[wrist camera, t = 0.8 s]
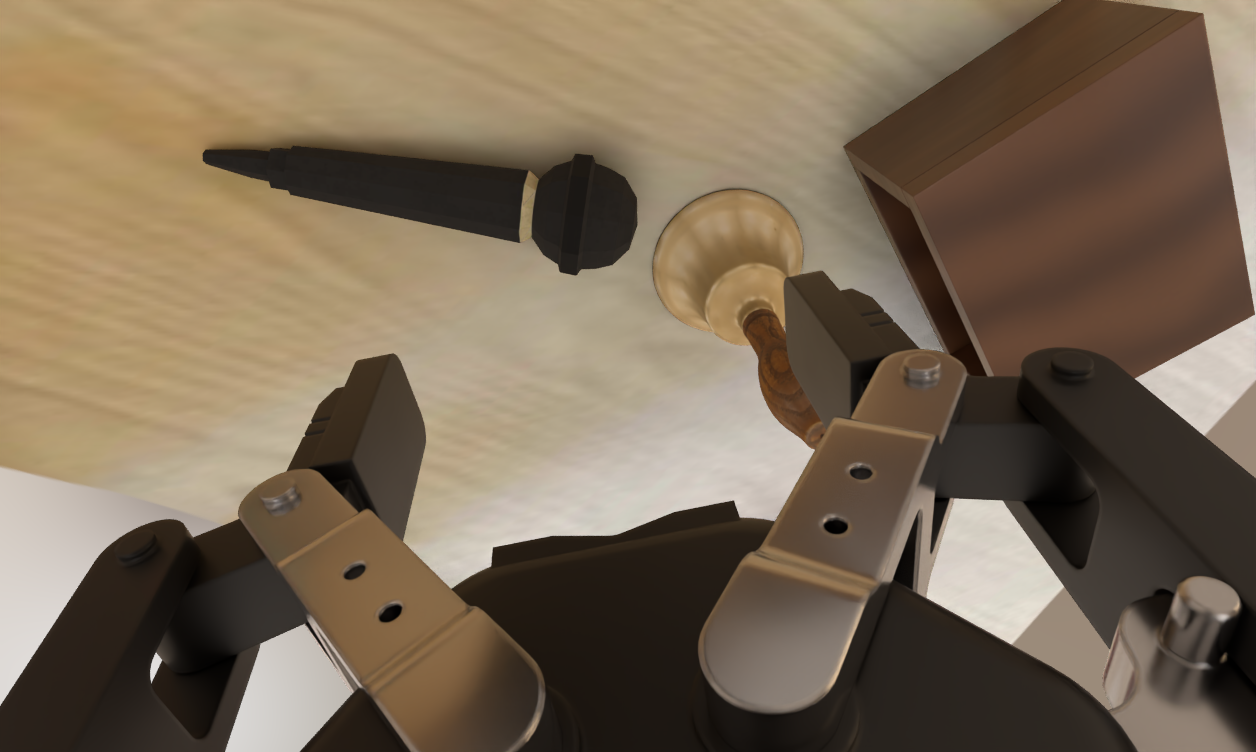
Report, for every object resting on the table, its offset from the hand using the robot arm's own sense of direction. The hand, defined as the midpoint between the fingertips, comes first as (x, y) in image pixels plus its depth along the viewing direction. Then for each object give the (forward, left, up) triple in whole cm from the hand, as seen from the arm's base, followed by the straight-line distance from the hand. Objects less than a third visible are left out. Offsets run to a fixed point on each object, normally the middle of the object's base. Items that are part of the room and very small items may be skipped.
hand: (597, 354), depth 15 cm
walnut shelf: (+18, +17, -23) cm, 33 cm away
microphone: (-1, -6, -23) cm, 24 cm away
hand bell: (+12, +3, -23) cm, 26 cm away
